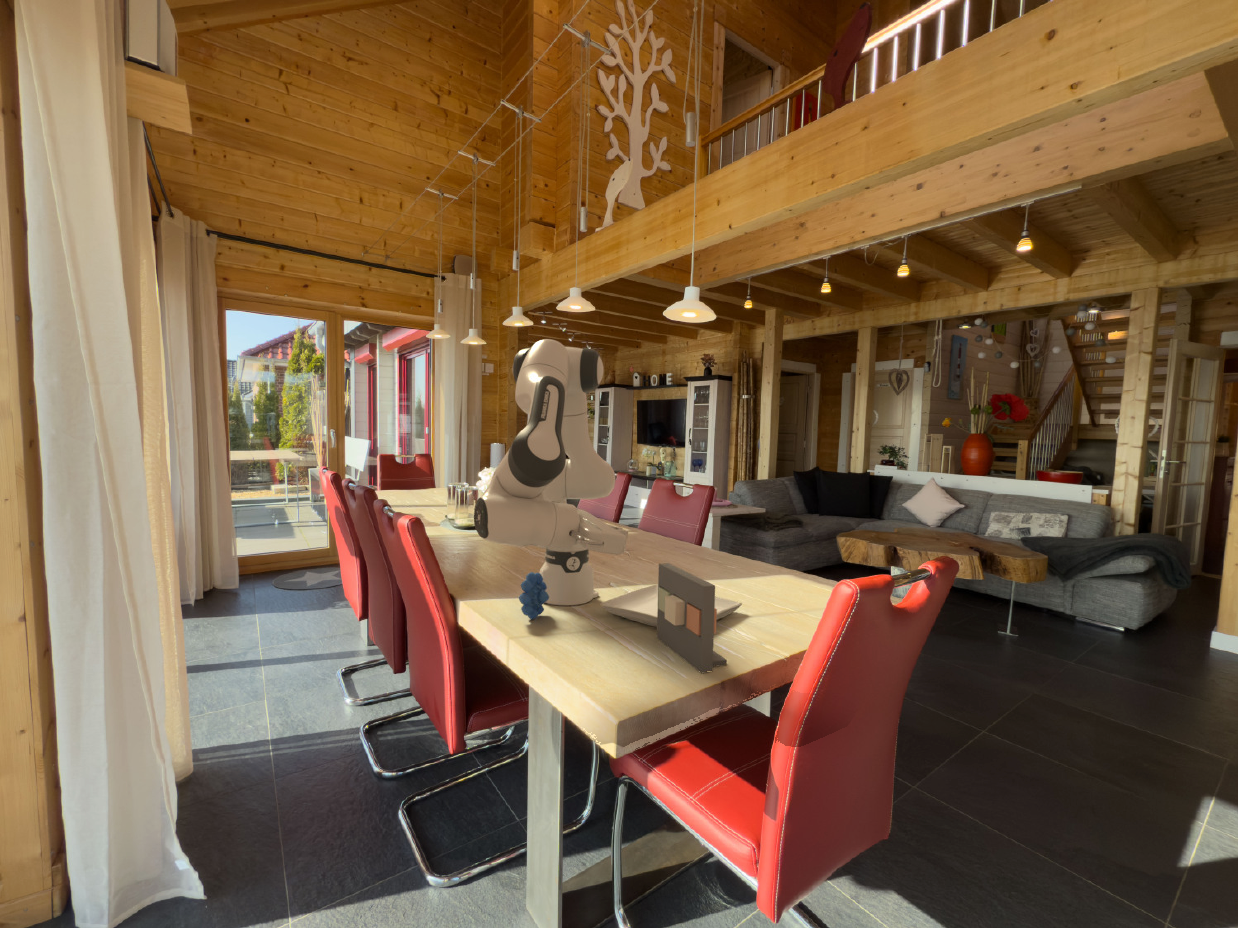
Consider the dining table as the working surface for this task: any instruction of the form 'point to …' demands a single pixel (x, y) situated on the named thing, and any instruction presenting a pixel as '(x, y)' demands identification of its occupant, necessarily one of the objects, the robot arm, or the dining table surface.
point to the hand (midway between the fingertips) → (624, 533)
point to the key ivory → (675, 610)
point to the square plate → (654, 605)
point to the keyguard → (679, 636)
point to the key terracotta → (697, 619)
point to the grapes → (533, 595)
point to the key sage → (662, 598)
